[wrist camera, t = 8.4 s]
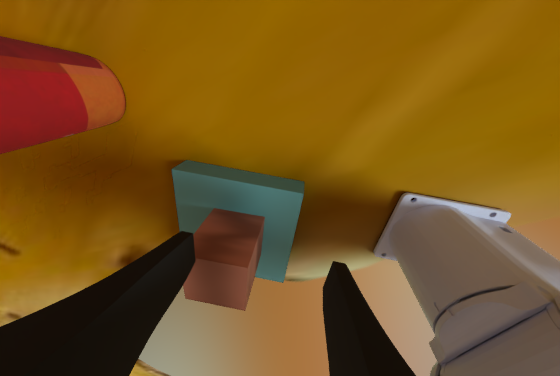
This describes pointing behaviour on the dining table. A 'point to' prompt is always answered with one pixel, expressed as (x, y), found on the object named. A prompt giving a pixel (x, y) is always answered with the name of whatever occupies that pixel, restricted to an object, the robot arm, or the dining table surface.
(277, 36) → the dining table surface
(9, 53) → the paper cup
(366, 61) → the dining table surface
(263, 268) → the teal base board
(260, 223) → the red wood block
